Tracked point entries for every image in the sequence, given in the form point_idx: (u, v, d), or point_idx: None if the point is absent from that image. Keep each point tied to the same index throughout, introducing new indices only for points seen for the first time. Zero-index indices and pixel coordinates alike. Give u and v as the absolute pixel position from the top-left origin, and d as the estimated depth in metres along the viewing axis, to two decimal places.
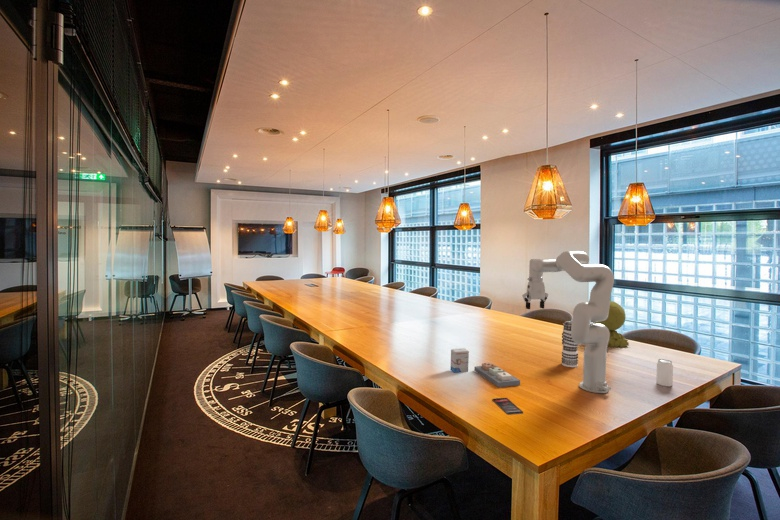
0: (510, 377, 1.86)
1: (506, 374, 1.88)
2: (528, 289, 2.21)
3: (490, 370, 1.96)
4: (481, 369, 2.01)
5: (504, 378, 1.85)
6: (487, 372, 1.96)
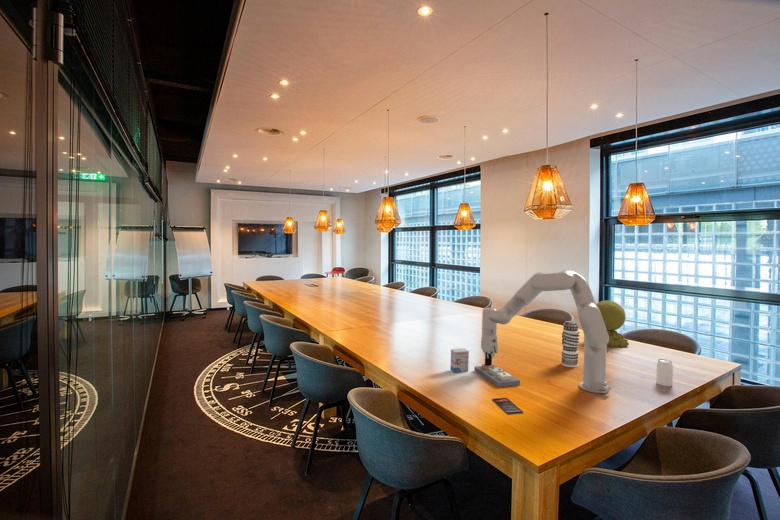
0: (510, 377, 1.86)
1: (506, 374, 1.88)
2: (493, 343, 1.97)
3: (490, 370, 1.96)
4: (481, 369, 2.01)
5: (504, 378, 1.85)
6: (487, 372, 1.96)
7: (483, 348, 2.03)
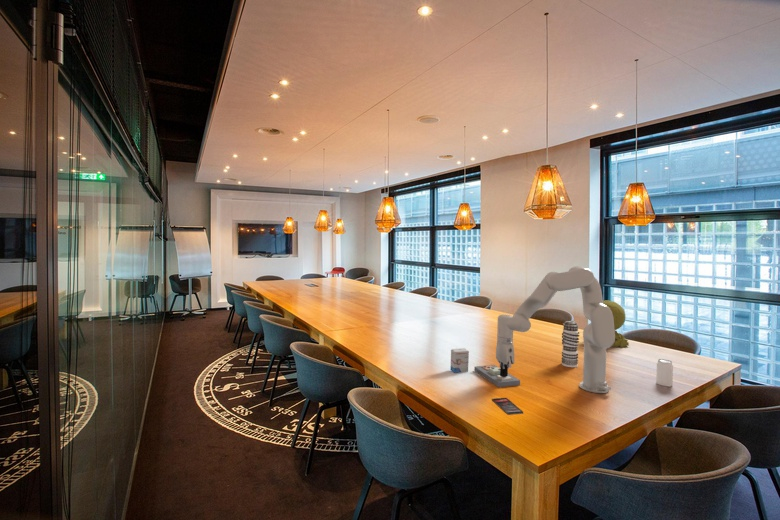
0: None
1: (506, 377, 1.88)
2: (510, 353, 1.83)
3: (490, 370, 1.96)
4: (481, 369, 2.01)
5: None
6: (487, 372, 1.96)
7: (498, 358, 1.89)
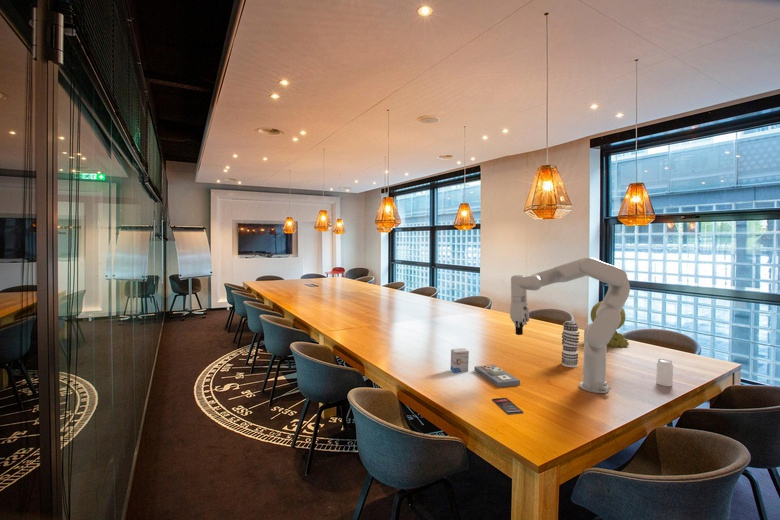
0: None
1: (506, 377, 1.88)
2: (525, 311, 1.90)
3: (490, 370, 1.96)
4: (481, 369, 2.01)
5: None
6: (487, 372, 1.96)
7: (513, 317, 1.95)
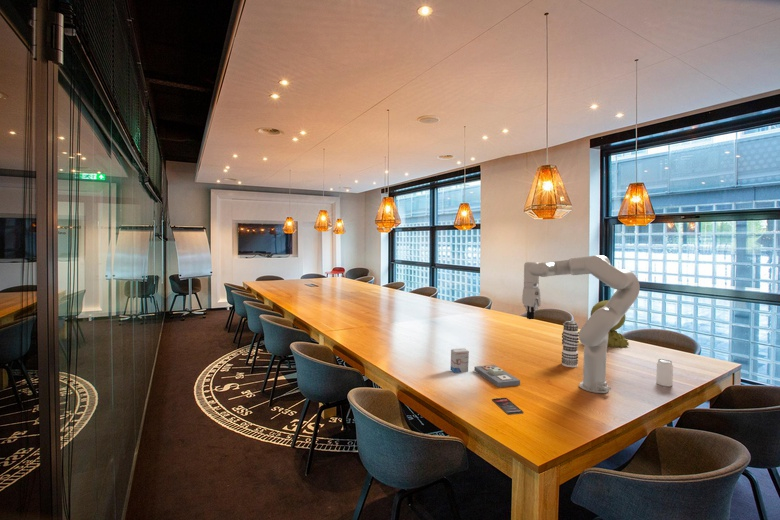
0: None
1: (506, 377, 1.88)
2: (536, 296, 1.97)
3: (490, 370, 1.96)
4: (481, 369, 2.01)
5: None
6: (487, 372, 1.96)
7: (525, 302, 2.03)
